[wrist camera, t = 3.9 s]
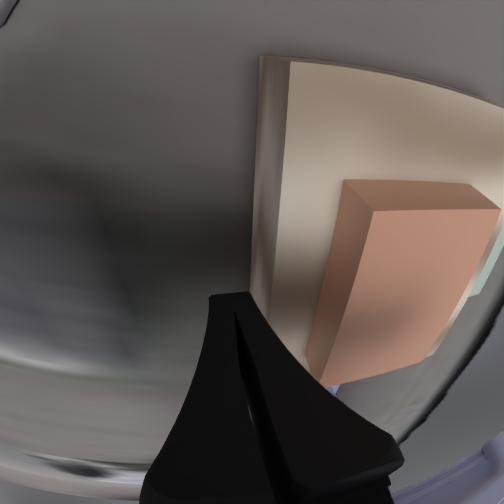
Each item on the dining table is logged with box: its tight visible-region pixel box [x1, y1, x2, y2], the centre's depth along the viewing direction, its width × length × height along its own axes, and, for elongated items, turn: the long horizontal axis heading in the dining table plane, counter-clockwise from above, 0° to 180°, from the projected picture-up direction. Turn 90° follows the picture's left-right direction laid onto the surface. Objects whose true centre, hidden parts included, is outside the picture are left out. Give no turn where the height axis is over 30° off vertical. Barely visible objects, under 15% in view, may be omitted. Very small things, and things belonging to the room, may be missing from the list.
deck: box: [250, 55, 504, 374], centre depth 15 cm, size 16×12×4 cm
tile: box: [305, 179, 502, 388], centre depth 12 cm, size 9×6×2 cm, turn 178°
